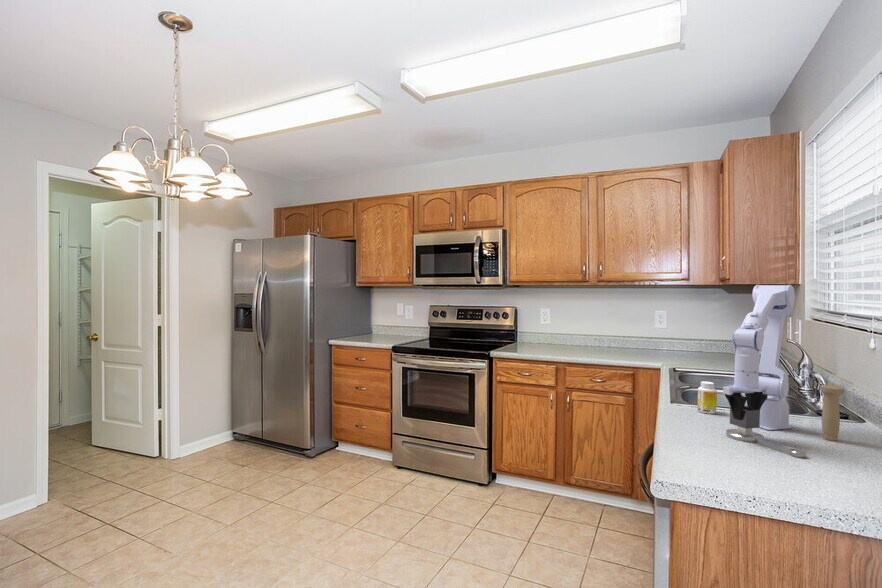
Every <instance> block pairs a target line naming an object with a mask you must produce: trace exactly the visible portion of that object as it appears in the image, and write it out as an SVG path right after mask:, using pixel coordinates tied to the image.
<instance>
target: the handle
mask: <svg viewBox="0 0 882 588" xmlns="http://www.w3.org/2000/svg"><path fill="white" fill-rule="evenodd" d="M819 390H820V392H822V393H823V402H822V411H821V432H822V433H821V434H822V439H824V440H827V441H830V442H834V441H836V442H837V441H838V440H839V436H838V435H839V433H840V426H841V424H840V423H841V421H840V420H841V415H840V396H841V395H843V394H844V387H842V386H840V385H835V384H834V385H833V384H820V386H819Z"/></svg>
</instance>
